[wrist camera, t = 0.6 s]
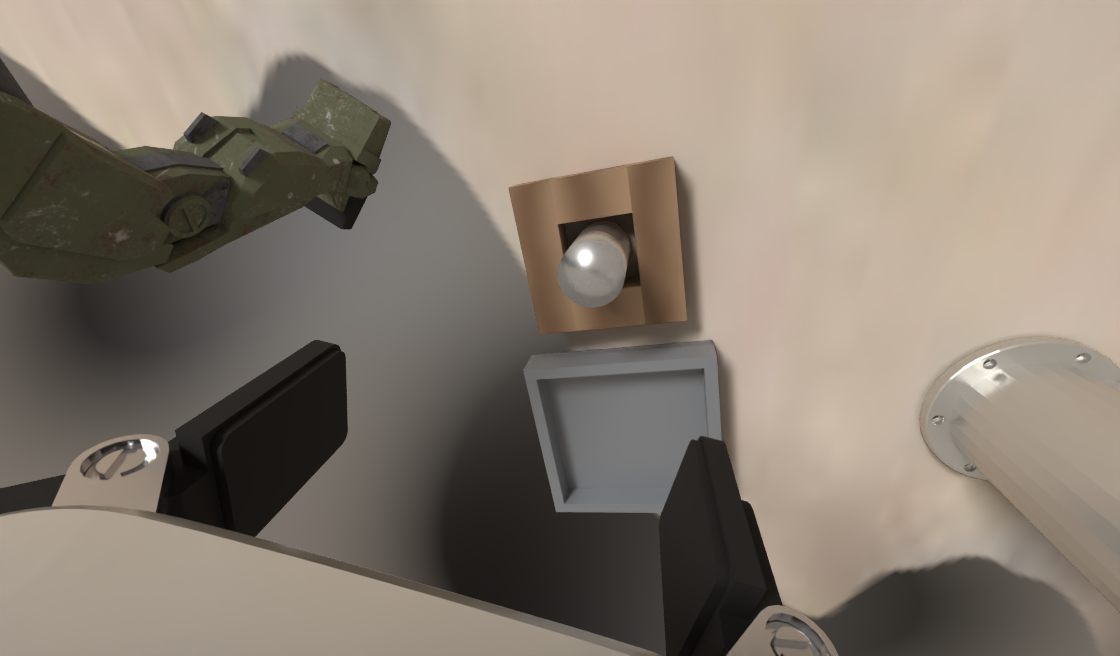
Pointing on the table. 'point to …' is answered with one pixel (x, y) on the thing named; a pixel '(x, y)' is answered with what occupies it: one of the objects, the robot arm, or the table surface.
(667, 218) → the pin block
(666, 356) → the tray
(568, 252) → the pin
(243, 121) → the mechanical leg
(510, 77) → the table surface
